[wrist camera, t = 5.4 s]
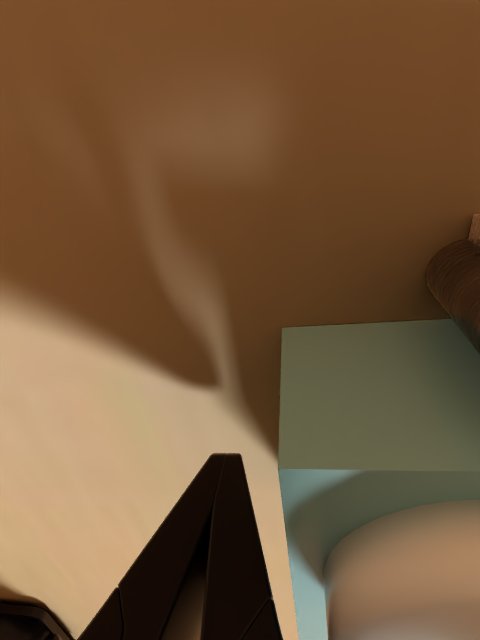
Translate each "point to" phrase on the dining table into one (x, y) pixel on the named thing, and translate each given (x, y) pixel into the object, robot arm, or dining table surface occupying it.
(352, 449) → the teal cube with ball
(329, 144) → the dining table surface
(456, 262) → the motor mount
